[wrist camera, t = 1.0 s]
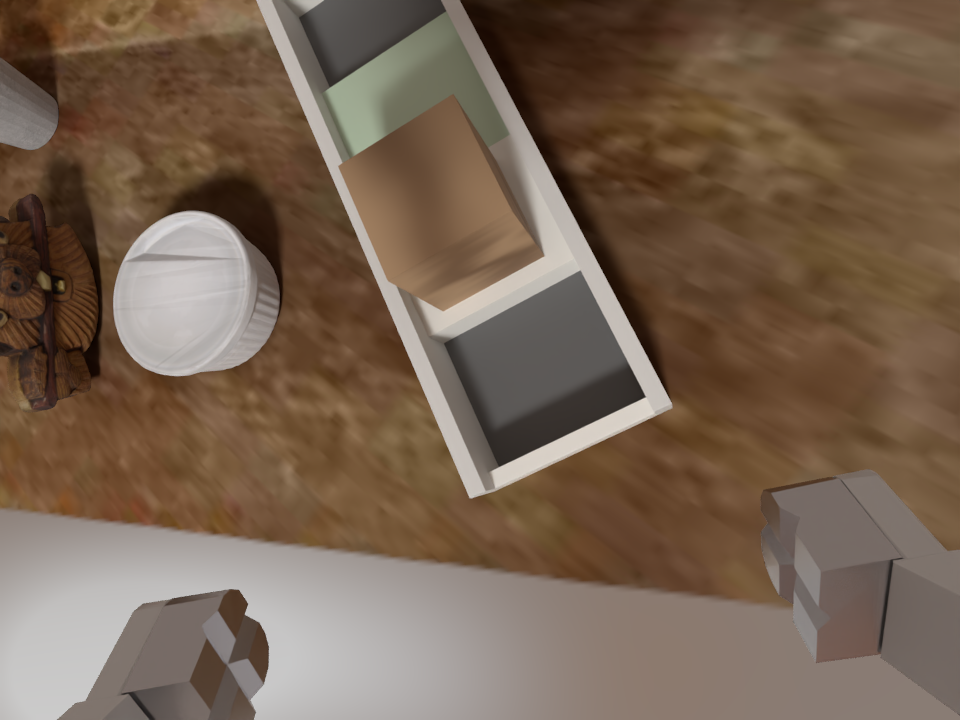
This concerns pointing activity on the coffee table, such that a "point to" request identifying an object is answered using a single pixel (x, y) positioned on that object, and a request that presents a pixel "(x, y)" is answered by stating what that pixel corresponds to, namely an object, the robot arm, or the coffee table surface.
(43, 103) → the house plant
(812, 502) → the robot arm
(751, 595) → the coffee table surface
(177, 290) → the ramekin
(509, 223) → the walnut block
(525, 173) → the track
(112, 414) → the coffee table surface
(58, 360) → the wooden carving
